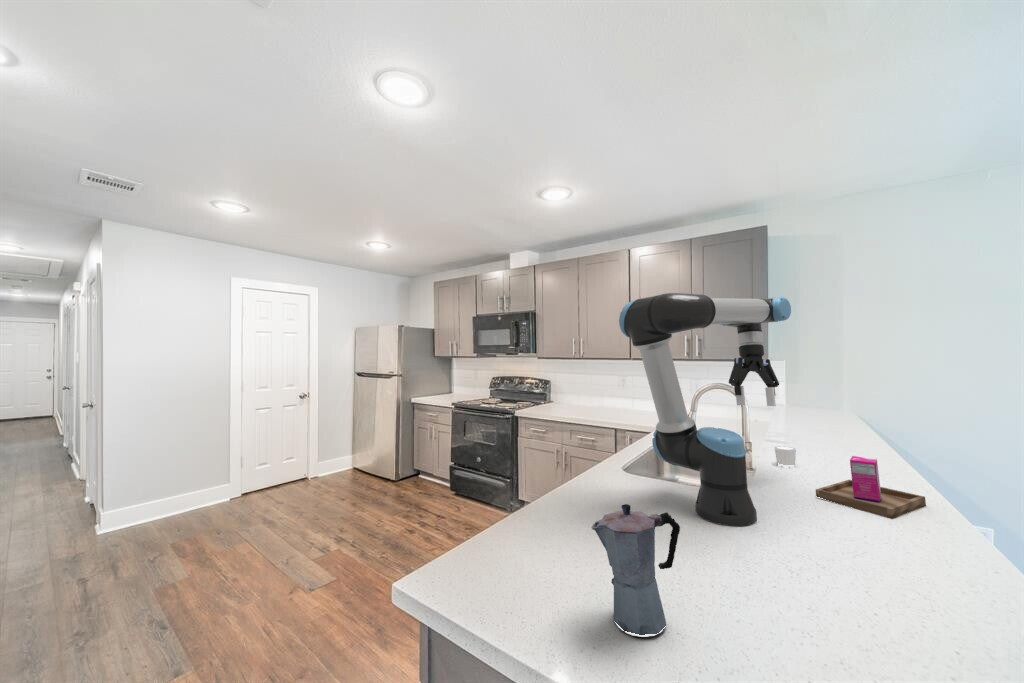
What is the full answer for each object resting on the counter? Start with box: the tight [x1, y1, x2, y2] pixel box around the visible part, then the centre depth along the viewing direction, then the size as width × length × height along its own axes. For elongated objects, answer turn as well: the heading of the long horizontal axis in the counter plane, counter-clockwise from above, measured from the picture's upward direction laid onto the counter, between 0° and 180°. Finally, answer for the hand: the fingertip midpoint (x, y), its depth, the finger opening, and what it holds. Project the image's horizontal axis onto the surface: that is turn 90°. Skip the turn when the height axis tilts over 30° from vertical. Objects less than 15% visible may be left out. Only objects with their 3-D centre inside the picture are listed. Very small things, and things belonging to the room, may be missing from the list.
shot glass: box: [774, 445, 797, 466], centre depth 152 cm, size 7×7×7 cm
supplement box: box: [849, 455, 882, 503], centre depth 114 cm, size 6×6×12 cm
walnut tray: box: [815, 479, 927, 520], centre depth 114 cm, size 18×18×2 cm
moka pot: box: [591, 503, 681, 635], centre depth 68 cm, size 10×15×20 cm, turn 95°
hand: (756, 405), depth 135 cm, fingers open, 13 cm apart
